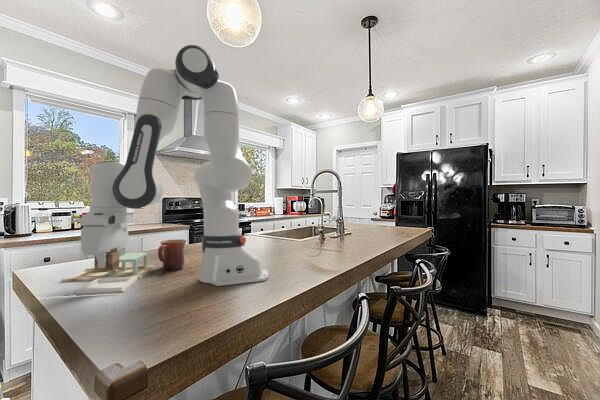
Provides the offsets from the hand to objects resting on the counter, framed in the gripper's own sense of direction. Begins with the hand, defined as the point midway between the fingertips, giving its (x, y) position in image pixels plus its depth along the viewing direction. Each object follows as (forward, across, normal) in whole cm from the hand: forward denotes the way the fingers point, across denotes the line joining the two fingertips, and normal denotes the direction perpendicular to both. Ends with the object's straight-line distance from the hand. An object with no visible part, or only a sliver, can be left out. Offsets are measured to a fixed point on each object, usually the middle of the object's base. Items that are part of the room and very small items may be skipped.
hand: (107, 265), depth 80 cm
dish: (+7, 0, 0) cm, 7 cm away
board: (+7, -14, -4) cm, 16 cm away
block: (+1, 0, 0) cm, 1 cm away
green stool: (+6, -14, +1) cm, 15 cm away
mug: (+7, -19, +12) cm, 24 cm away
